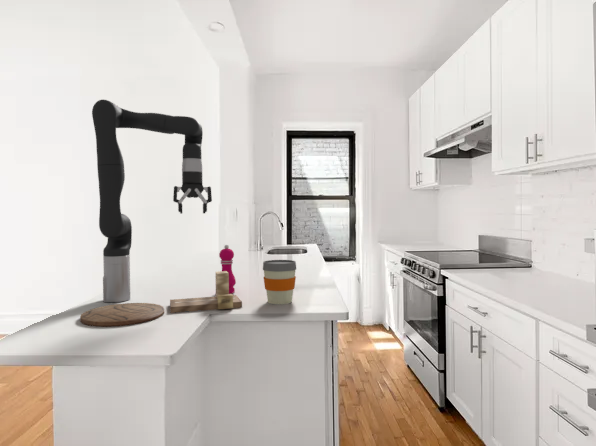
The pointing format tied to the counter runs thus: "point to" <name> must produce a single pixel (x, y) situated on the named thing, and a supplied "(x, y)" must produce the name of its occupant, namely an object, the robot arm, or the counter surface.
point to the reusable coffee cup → (279, 280)
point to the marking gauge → (223, 290)
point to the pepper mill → (228, 266)
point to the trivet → (121, 314)
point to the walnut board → (199, 304)
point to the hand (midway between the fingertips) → (192, 213)
